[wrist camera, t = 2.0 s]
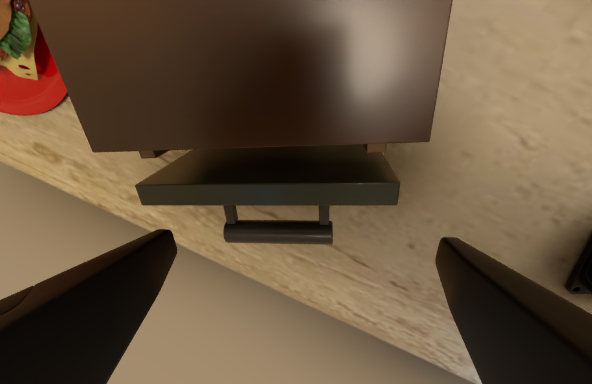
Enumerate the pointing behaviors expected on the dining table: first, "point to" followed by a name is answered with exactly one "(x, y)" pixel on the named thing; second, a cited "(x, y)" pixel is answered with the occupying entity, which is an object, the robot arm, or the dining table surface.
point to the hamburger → (26, 63)
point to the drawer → (275, 185)
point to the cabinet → (247, 70)
